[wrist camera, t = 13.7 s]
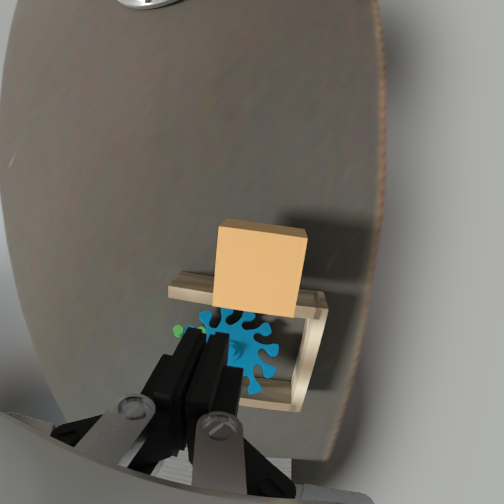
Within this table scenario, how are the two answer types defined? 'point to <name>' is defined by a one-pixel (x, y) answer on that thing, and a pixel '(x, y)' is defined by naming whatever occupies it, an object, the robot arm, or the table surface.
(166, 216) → the table surface
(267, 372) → the gear
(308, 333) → the chassis bay
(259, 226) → the block
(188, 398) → the robot arm
